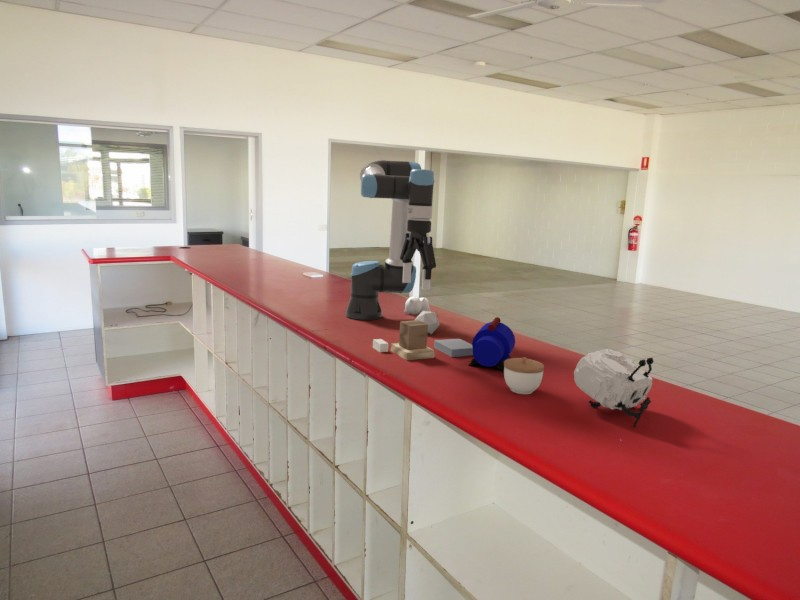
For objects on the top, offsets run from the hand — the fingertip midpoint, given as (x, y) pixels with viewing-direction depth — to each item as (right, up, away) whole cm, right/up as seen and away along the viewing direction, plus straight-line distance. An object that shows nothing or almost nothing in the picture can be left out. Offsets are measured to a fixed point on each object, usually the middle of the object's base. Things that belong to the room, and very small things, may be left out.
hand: (415, 286), depth 181 cm
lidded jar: (+28, -30, -26) cm, 49 cm away
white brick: (-12, -21, +7) cm, 25 cm away
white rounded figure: (+3, -11, +67) cm, 68 cm away
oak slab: (-1, -23, +4) cm, 23 cm away
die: (+5, -17, +34) cm, 39 cm away
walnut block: (-1, -20, +3) cm, 20 cm away
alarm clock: (+23, -25, -5) cm, 35 cm away
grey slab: (+14, -22, +10) cm, 28 cm away
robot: (+50, -33, -39) cm, 71 cm away
